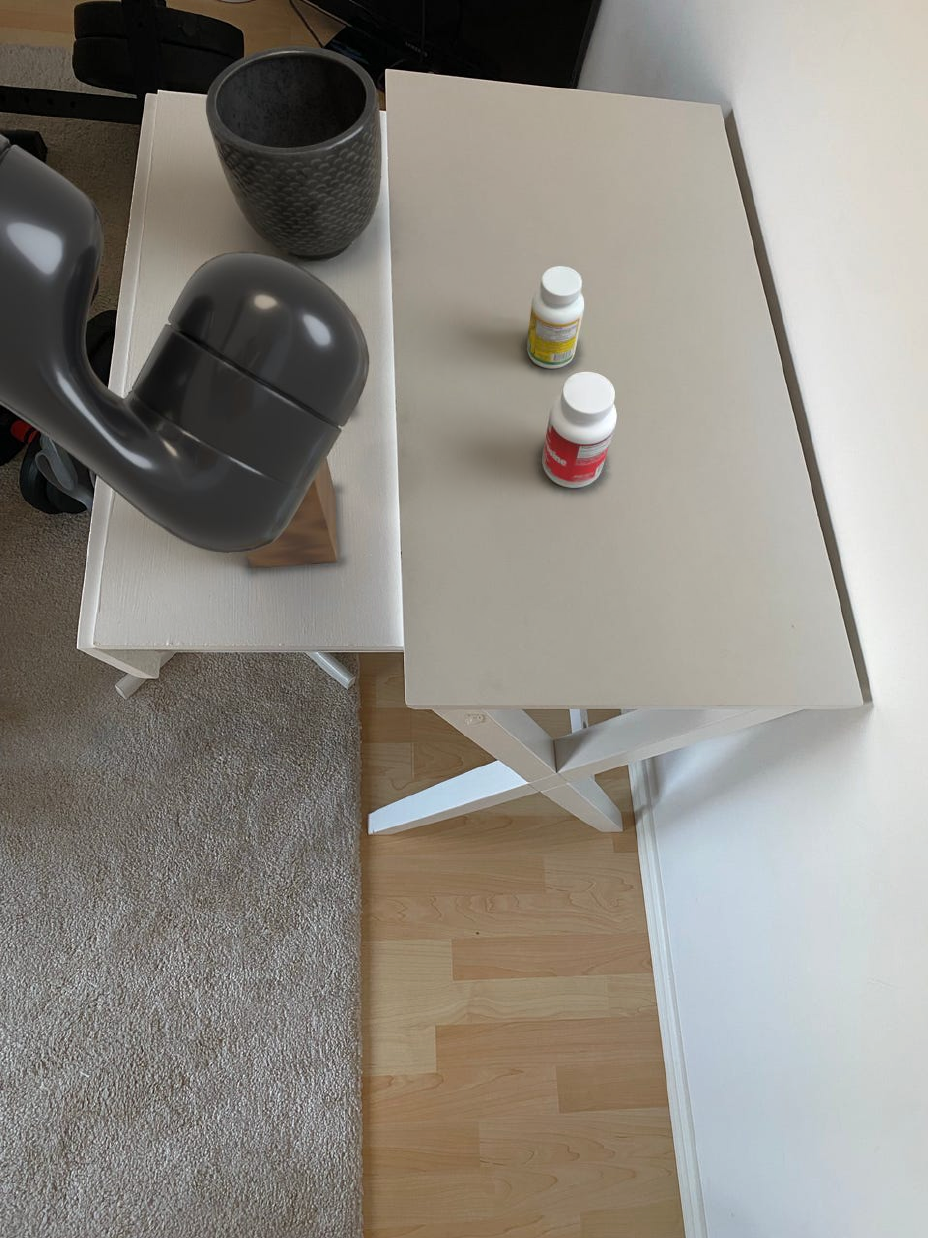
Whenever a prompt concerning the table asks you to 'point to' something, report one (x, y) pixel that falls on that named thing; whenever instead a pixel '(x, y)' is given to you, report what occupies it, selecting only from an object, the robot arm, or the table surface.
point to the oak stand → (305, 529)
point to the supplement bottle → (555, 318)
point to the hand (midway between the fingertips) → (240, 377)
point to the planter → (299, 146)
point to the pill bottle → (579, 430)
